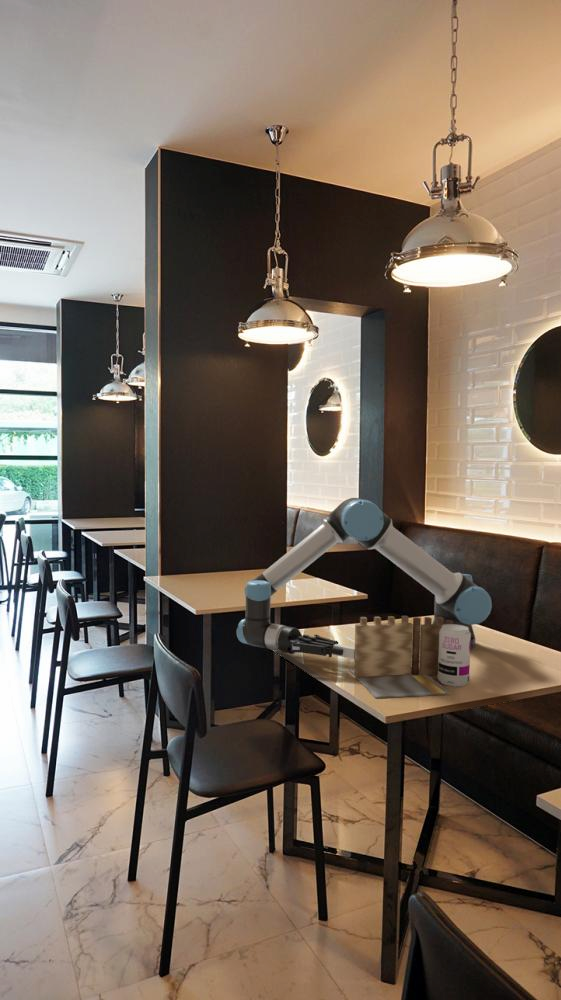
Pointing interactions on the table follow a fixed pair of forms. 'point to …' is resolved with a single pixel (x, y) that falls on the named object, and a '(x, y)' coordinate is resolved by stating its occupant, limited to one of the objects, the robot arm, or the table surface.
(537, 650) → the table surface
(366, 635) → the fence panel
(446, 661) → the supplement can
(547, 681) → the table surface
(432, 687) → the fence base
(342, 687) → the table surface
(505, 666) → the table surface
